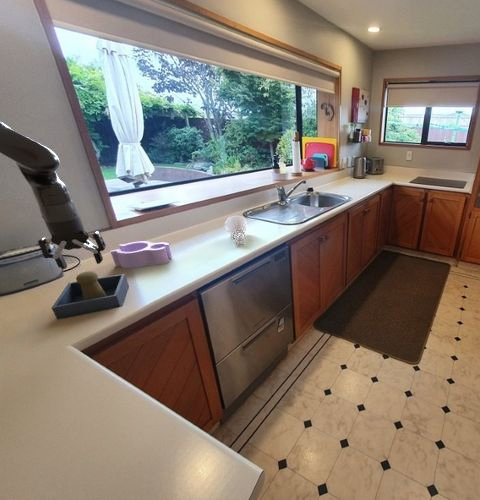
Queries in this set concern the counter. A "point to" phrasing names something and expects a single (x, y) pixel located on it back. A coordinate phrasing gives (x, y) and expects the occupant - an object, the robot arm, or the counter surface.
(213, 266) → the counter surface
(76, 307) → the tub
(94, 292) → the cork
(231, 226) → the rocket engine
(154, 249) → the purple compartment tray
